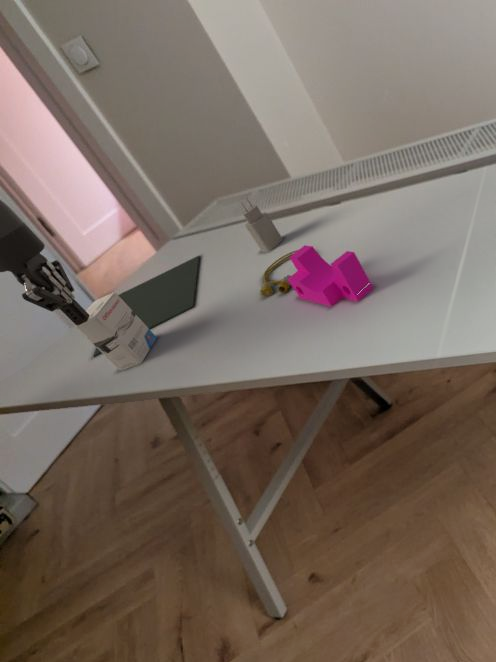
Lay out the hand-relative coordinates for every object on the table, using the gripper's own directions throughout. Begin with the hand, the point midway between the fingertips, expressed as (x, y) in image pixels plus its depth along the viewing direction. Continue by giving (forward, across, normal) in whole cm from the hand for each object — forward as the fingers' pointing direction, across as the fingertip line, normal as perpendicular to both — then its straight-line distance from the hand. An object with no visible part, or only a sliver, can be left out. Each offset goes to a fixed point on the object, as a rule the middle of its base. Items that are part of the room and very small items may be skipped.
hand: (83, 321), depth 91 cm
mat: (+12, -31, 0) cm, 33 cm away
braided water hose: (+13, -10, +31) cm, 35 cm away
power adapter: (+13, -29, +30) cm, 44 cm away
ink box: (+13, -7, 0) cm, 15 cm away
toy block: (+13, +9, +39) cm, 42 cm away
